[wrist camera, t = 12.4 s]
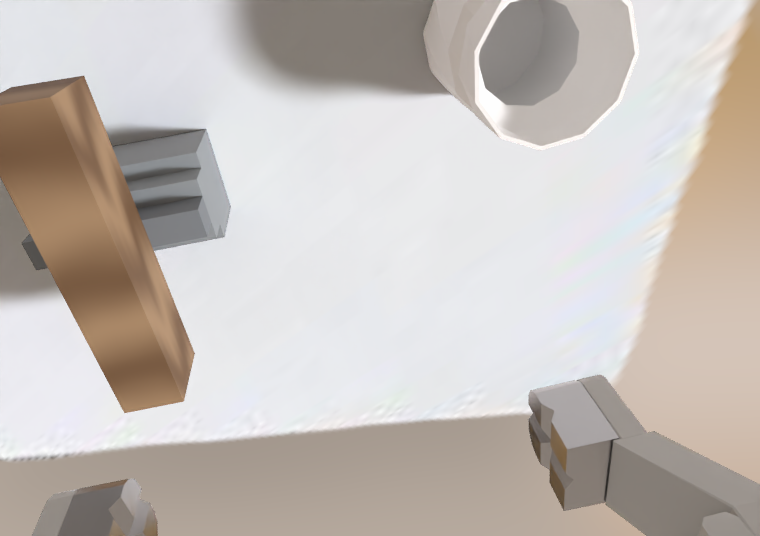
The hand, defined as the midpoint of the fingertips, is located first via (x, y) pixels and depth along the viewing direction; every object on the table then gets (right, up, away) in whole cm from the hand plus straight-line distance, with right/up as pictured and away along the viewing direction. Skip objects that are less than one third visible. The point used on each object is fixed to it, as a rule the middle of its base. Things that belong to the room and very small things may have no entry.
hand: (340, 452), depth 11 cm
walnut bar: (-14, +5, +20) cm, 25 cm away
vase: (+8, +20, +26) cm, 34 cm away
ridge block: (-16, +10, +28) cm, 34 cm away
